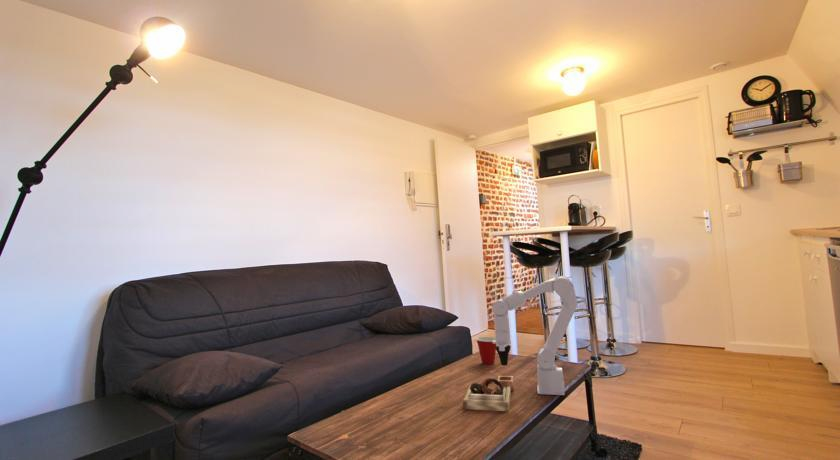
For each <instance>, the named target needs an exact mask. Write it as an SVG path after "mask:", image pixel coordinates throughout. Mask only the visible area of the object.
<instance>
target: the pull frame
mask: <svg viewBox="0 0 840 460" xmlns="http://www.w3.org/2000/svg"><path fill="white" fill-rule="evenodd" d="M514 378H515V377H514V376H513V375H498V376H497V379H496V380H498V381H499V382H500V383H501V384H502V386H503V395H494V394H493V395H487V394H468V399H480V400H500V401H505V398H506V391H507V387H510V388H511V391H512V392H513V391H514V390H515V383H514V382H515V380H514ZM496 386H497V391H500V386H498V385H496Z"/></svg>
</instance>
